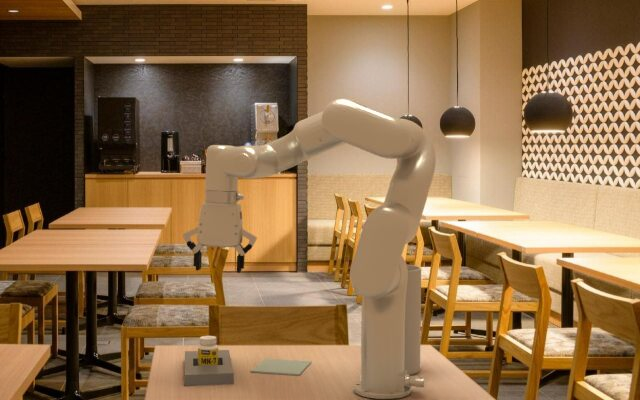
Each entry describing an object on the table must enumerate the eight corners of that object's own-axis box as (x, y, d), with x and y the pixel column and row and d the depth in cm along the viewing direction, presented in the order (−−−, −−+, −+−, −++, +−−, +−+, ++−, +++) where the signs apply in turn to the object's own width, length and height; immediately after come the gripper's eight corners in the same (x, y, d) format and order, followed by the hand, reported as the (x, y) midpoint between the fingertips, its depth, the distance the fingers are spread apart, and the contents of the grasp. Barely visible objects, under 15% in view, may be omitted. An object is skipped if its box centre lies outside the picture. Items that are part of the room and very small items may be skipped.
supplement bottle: (199, 375, 199) (199, 340, 199) (196, 370, 204) (196, 335, 203) (219, 373, 201) (219, 338, 200) (216, 368, 205) (216, 334, 205)
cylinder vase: (368, 377, 198) (369, 271, 197) (367, 363, 211) (368, 263, 209) (422, 377, 198) (423, 271, 196) (417, 364, 210) (418, 264, 209)
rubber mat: (311, 362, 211) (311, 361, 211) (299, 375, 199) (299, 374, 199) (265, 360, 214) (265, 358, 214) (250, 372, 202) (250, 370, 202)
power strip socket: (184, 361, 212) (184, 348, 212) (228, 359, 214) (228, 347, 214) (184, 385, 191) (184, 372, 190) (233, 383, 192) (233, 370, 192)
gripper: (260, 198, 201) (257, 270, 202) (188, 195, 202) (185, 266, 203) (255, 201, 193) (253, 275, 195) (180, 197, 194) (178, 271, 196)
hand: (218, 270), depth 199 cm, fingers open, 9 cm apart
